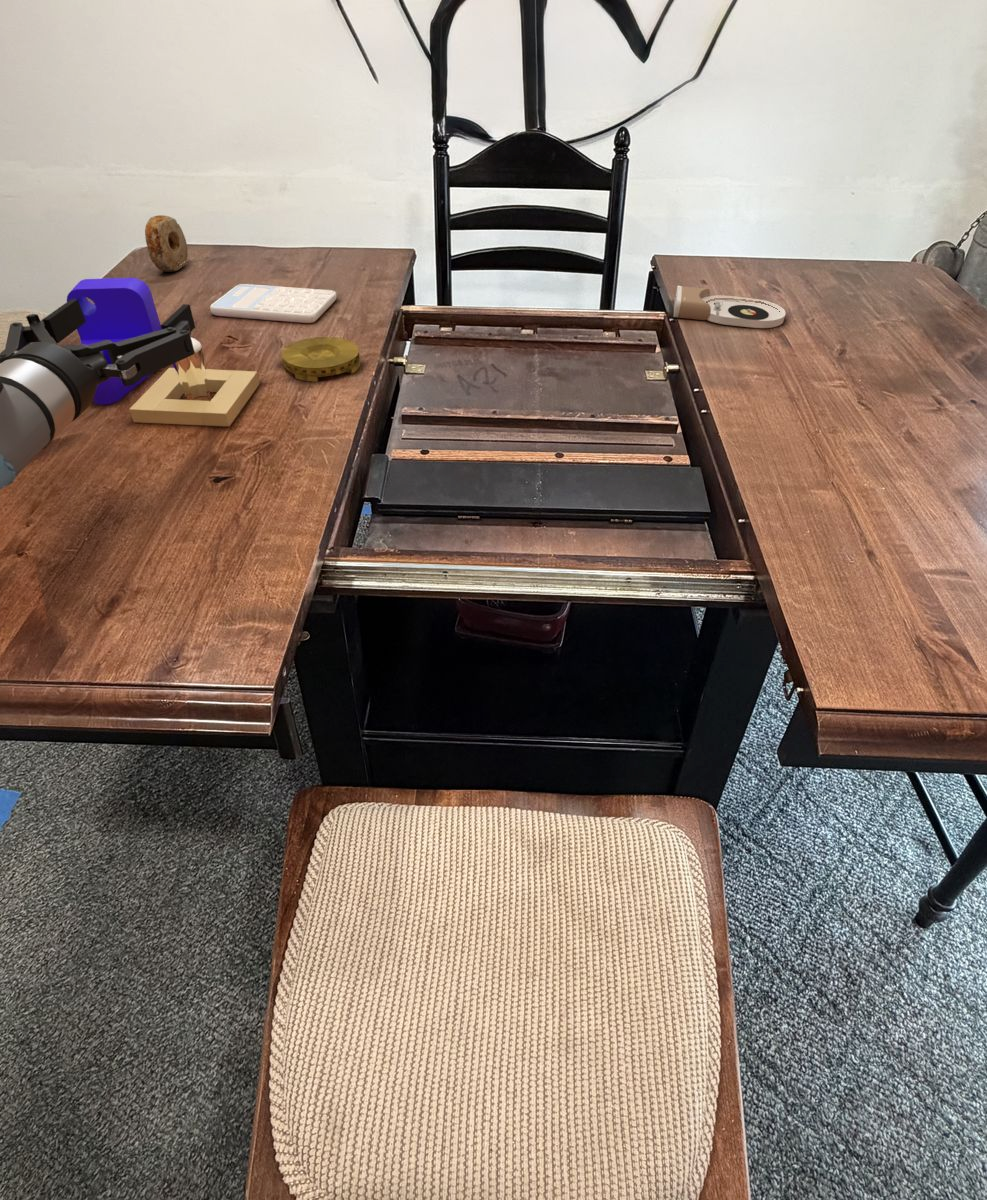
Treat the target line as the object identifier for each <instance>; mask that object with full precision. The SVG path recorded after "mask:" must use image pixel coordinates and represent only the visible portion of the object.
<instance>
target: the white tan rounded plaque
mask: <svg viewBox="0 0 987 1200" xmlns="http://www.w3.org/2000/svg"><path fill="white" fill-rule="evenodd" d="M675 296H676V297H675ZM675 296H674V302H673V318H678V319H688V320H698V321H708V322H711V323H715V324H719V325H726V326H733V327H734V326H735V327H743V328H744V327H745V328H752V329H770V328H776V327H779V326H781V325H782V324H784V321H785V317H786V315H787V312H786V309H784V307H783V306H782V307H781V306H780V305H779V304H777V303H774V302H771V301H768V300H765V299H762V298H761V299H760V298H754V297H744V296H735V295H734V296H733V295H723V294H722V295H721V294H720V295H719V294H715V295H711V290H710V289H709V288H705V287H696V286H695V287H694V286H685V285H683V286H682V285H677V286H676V292H675ZM714 298H734V299H746V300H753V301H761V302H764V303H766V304H769V305H771V306H773V307H775V308H777V309H778V310H777V309H775V308H773V307H771V306H768V305H765V304H761V303H755V302H745V301H740V300H715V301H710V302H708V303H706V301H708V300H710V299H714ZM714 303H715V304H714ZM779 311H780V312H779Z"/></svg>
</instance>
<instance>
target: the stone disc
mask: <svg viewBox="0 0 987 1200" xmlns="http://www.w3.org/2000/svg"><path fill="white" fill-rule="evenodd" d="M144 236H145V237H144V238H145V242H146V243H145V244H146V247H147V251H148V256H149V258H150V260H151V262H152V263H153V265H154V266H155V267H156V269H158V270H159V271H162V272H165V273H167V272H168V273H169V272H170V273H171V272H172V273H173V272H177V271H179V270H180V269H181V268H183V267H184V266H185V265H186V263H187V261H188V256H189V255H188V244H187V240H186V237H185V234H184V231H183V229H182V227H181V226H180V223H178V221H177V220H176V218H174V217H172V216H170V215H165V214H164V215H163V214H161V215H154V216H151V217H150V218H149V219H148V220H147V222H146V224H145V229H144ZM186 260H187V261H186ZM184 261H186V262H185V263H183V262H184ZM182 263H183V264H182ZM180 264H182V265H180ZM179 265H180V266H179ZM177 266H178V267H177Z"/></svg>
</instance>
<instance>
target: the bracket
mask: <svg viewBox="0 0 987 1200" xmlns="http://www.w3.org/2000/svg"><path fill="white" fill-rule="evenodd" d="M71 299H78V301H79V304H80V307H81V310H82V312H83V315H84V318H85V321H86V322H85V323H84V324H83V325H81V326H80V327H79V328H77V329H76V331H77V335H78V336H79V339H80V344H84V345H90V344H93V343H97V342H101V341H104V340H110V341H112V342H113V343H115V342H119V341H122V340H126V339H130V338H133V337H137V336H140V335H144V334H148V333H151V332H155V331H158V330H162V328H161V325H162V323H161V322H160V318H159V315H158V311H157V308H156V304H155V301H154V298H153V294H152V291H151V289H150V287H149V286H148V284H146V282H144V281H143V280H142V279H139V278H136V277H113V278H111V277H110V278H108V277H107V278H84V279H82V280H80V281H78V282H77V284H76V285H75V286H74V287H73V288H72V289H71V290H70V291H69V292H68V294H67V296H66V303H67V302H68V301H69V300H71ZM88 299H89V300H91V301H92V302H93V303H92V302H90V301H89V300H88ZM102 352H103V354H104V356H105V358H106V360H107V362H108V364H112V363H111V360H110V357H109V354H108V351H107V350H104V351H102ZM151 375H153V373H151V374H149V375H147V376H144V377H142V378H141V379H140V380H139V381H137V382H136V383H135V384H133V385H131V386H124V385H123V383H122V381H121V378H115V377H111V378H110V379H108V380H107V381H105V382H102V383H100V384H98V386H97V389H96V392H95V396H94V399H93V403H94V404H96V405H100V406H101V405H102V406H103V405H105V406H106V405H111V404H114V403H117V402H120V401H121V400H122V399H123V398H124V397H125V396H127V395H128V394H129V393H130V392H132V391H133V390H134V389H135V388H136V387H138V385H140V384H141V383H142V382H143V381H145V380H146V379H147V378H148V377H150V376H151Z"/></svg>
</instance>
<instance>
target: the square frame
mask: <svg viewBox="0 0 987 1200" xmlns="http://www.w3.org/2000/svg"><path fill="white" fill-rule="evenodd" d="M205 370H206V376H207V381H208V386H209V392H210V393H215V394H214V396H213V397H212V398H211V400H210V401H199V400H186V399H181V398H182V397H183V395H184V392H183V390H182V387H181V384H180V382H179V379H178V376H177V374H176V371H175V369H174V367H169V368H167V369H166V370H165V371H164V372H163V374H161V376H159V378H158V379H157V380H156V381H155V382H154V383H153V384H152V385H151V386H150V387H149V388H148V389H147V390H146V391H144V393H143V394H142V395H141V397H139V399H137V400H136V401H135V403H133V404H132V406H131V407H129V409H128V410H129V413H130V416H131V418H132V419H131V420H132V421H133V423H142V424H143V423H144V424H165V425H185V426H186V425H187V426H206V427H207V426H210V427H227V428H228V427H230V426H231V425H232V424H233V423H234V421H235V419H236V418H237V416H238V415H239V414H240V412H241V411H242V410H243V408H244V407H245V406H246V404H247V403H248V401H249V400H250V398H251V397H252V395H253V394H254V393H255V391H256V390H257V388H258V387H259V386H260V384H261V383H260V378H259V373H258V371H255V370H234V369H233V370H232V369H214V368H213V369H212V368H211V369H209V368H205Z"/></svg>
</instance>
